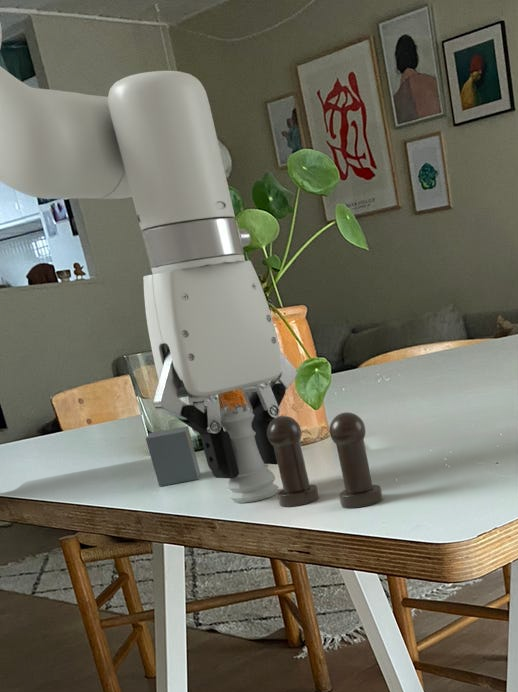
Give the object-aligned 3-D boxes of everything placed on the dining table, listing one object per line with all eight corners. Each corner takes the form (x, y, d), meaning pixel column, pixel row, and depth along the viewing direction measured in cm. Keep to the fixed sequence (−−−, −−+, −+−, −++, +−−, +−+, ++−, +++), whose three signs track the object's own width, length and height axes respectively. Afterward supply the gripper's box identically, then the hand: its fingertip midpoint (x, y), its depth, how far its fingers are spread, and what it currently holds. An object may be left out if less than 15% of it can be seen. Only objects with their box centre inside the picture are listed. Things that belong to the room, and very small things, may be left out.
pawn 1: (275, 508, 78) (255, 422, 75) (284, 498, 81) (265, 415, 78) (315, 503, 77) (296, 416, 75) (322, 493, 81) (304, 410, 78)
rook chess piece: (265, 501, 81) (242, 409, 78) (220, 505, 82) (197, 414, 79) (288, 488, 85) (267, 399, 82) (245, 492, 86) (223, 405, 83)
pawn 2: (338, 510, 74) (318, 419, 71) (345, 499, 77) (326, 412, 74) (379, 504, 74) (362, 413, 71) (385, 494, 77) (368, 406, 74)
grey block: (159, 486, 96) (145, 438, 94) (162, 479, 99) (149, 433, 97) (198, 479, 96) (185, 431, 94) (200, 472, 100) (187, 426, 98)
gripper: (252, 245, 84) (297, 447, 91) (77, 266, 73) (143, 493, 80) (303, 234, 79) (347, 448, 86) (123, 255, 68) (190, 498, 75)
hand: (248, 468), depth 83 cm, fingers open, 4 cm apart
